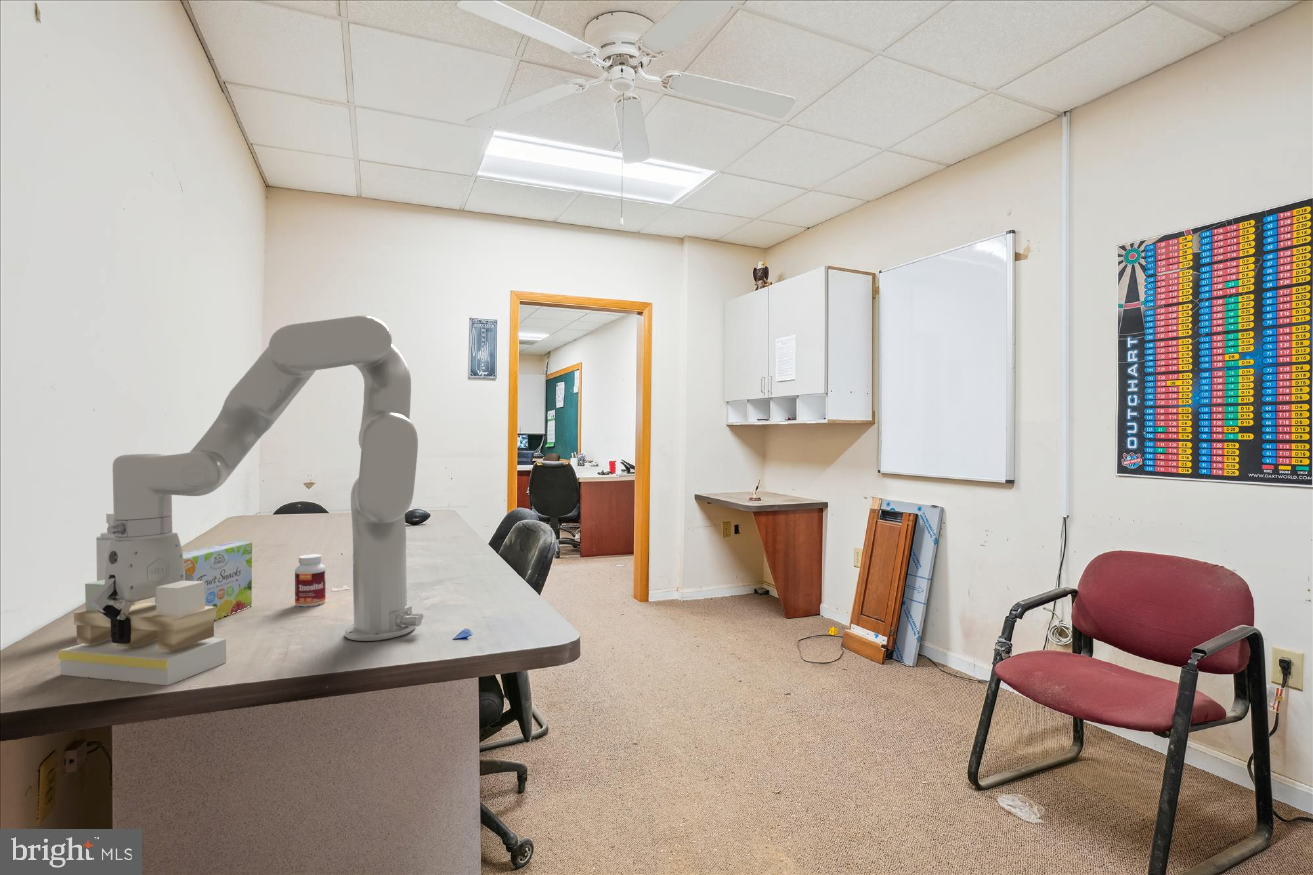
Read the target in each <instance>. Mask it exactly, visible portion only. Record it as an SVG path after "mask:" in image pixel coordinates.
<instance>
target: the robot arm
mask: <svg viewBox="0 0 1313 875" xmlns="http://www.w3.org/2000/svg"><path fill="white" fill-rule="evenodd" d="M392 338H393V337H392V334H391V331H390V329H389V328H388V326H387V325H386V323H384V322H383V321H382V320H380V319H378V318H376V317H374V316H370V315H354V316H347V317H345V316H344V317H337V318H331V319H325V320H324V319H322V320H317V321H316V320H315V321H308V322H300V323H293V324H287V325H284V326H282V327H280V328H278V329H276V330H275V331H274V332H273V334H272V335H271V337H270V339H269V343H268V346H266V348H265V350H264V351H263V352H262V353H261V354H260V355H259V357H258V358H257V360H256V361H255V362H254V363H253V364H252V366H251V367H250V368H249V369H248V371H246V373H245V374H244V375H243V376H242V377H241V379H240V380H238V382H237V383H236V384H235V385H234V386H233V388H232V389H231V390H230V391H229V393H228V395H227V396H226V398H225V400H224V402H223V405H222V406H221V410H220V411H219V414H218V416H217V417H216V419H215V420H214V421H213V423H212V424H211V426H210V427H209V428H208V430H207V431H206V432H205V433H204V434H203V436H202V437H201V438H200V440H198V442H197V443H196V444H195V445H194V447H193V448H192V449H191V450H190V452H184V453H176V454H168V455H165V454H161V453H136V454H135V453H134V454H122V455H119V456H117V457H115V459H114V460H113V463H112V494H113V496H112V497H113V498H112V500H113V503H112V504H113V512H114V521H113V524H114V525H113V526H108V525H107V528H106V532H108V534H114V540H111V541H110V545H109V549H108V553H107V560H106V568H105V584H104V585H103V586H102V587H101V588H100V589H99V590H98V591H97V592H96V593H95V594H94V595H93V596H92V597H91V598H90V599H89V603H90V604H91V605H92V606H93V607H95V608H96V609H98V611H99V612H100V613H102V614H103V615H105V616H106V618H107V619H111V638H112V642H113V643H118V644H128V643H130V642H131V622H130V618H126V617H127V615H128V612H129V610H130V608H131V606H132V604H133V602H136V601H140V600H141V601H144V600H148V599H153V598H155V597H156V587H158V586H162V585H167V584H171V583H175V582H179V581H193V580H194V577H193V576H192V575H190V574H189V573H187V572H185V569H184V560H183V553H184V552H183V549H182V544H181V541H180V537H179V533H177V532H173V505H172V504H173V502H172V501H173V500H172V499H173V498H172V496H184V497H185V496H186V497H200V496H205V495H208V494H211V493H213V492H215V491H216V490H217V489H219V488H220V487H221V486H223V484H225V482H226V481H227V480H228V479H229V477H230V476H231V475H232V473H233V472H234V471H235V470H236V469H237V468H238V466H239V464H240V463H241V462H242V461H243V460H244V458H245V457H246V456H247V455H248V453H249V452H250V451H251V450H252V448H253V447H254V446H255V445H256V443H257V442H258V441H259V440H260V439H261V438H262V437H263V435H264V434H265V433H266V432H268V431H269V430H270V429H271V428H272V427H273V425H274V424H275V423H276V421H277V420H278V419H279V418H280V416H281V415H282V414H283V413H284V411H285V410H286V409H287V408H288V406H289V405H290V403H292V401H293V400H294V398H295V397H296V396H297V395H298V393H300V391H301V390H302V388H304V386H305V385H306V384H307V383H308V381H309V380H310V379H311V377H312V376H313V375H314V374H315V373H316V371H319V370H328V369H334V368H339V367H340V368H341V367H346V366H351V365H352V366H354V367H356V368H357V370H358V371H359V372H360V374H361V375H362V377H363V378H362V379H363V384H364V388H363V406H362V416H361V423H360V428H359V431H358V445H359V448H360V460H359V461H360V463H359V473H358V477H357V479H356V480H355V481H354V483H353V485H352V487H351V491H350V512H351V524H352V525H351V527H352V531H351V532H352V580H353V581H352V583H353V584H352V588H353V590H352V592H353V594H352V595H353V623H352V624H350V625H349V626H347V627H346V628H345V630H344V636H345V638H347V639H349V640H352V641H358V642H373V641H375V642H376V641H381V640H382V641H384V640H389V639H393V638H394V639H395V638H398V637H401V636H405V635H407V634H409V633H411V632H413V631H414V629H416V627H420V626H421V625H422V622H423V619H424V614H423V613H421V612H420V613H417V612H416V613H413V605H408V599H407V598H408V595H407V594H408V590H407V589H408V588H407V586H408V585H407V584H408V583H407V579H408V578H407V531H406V529H407V528H406V526H407V525H406V516H405V514H406V513H407V512H408V511H409V509H410V507H411V505H412V502H413V498H414V490H415V482H416V475H417V474H416V473H417V472H416V471H417V461H418V460H417V459H418V450H419V449H418V448H419V438H418V433H417V429H416V427H415V426H414V424H413V423H412V421H411V420H410V419H411V418H410V415H411V398H412V379H411V373H410V369H409V366H408V364H407V362H406V360H405V359H404V357H403V355H402V353H400V351H399V350H398V348H396V346H394V344H392V343H393V339H392ZM107 599H108V600H110V601H112V603H111V605H110V604H109V603H108V602H107ZM121 604H122V605H121ZM120 606H121V607H120ZM119 608H120V609H119Z"/></svg>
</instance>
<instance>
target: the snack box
mask: <svg viewBox="0 0 1313 875" xmlns="http://www.w3.org/2000/svg"><path fill="white" fill-rule="evenodd" d="M182 553H183V560H184V569H185V572H187V573H189V574H190V575H192V576H193V577H194V580H193V581H203V582H205V606H210V607H216V619H214V620H216V621H219V620H220V619H219V618H222V617H224V616H227V615H229V614H232V613H233V612H237V611H238V610H242V609H244V608H247V607H248V606H251V605H253V603H252V601H253V598H252V595H253V590H252V589H253V588H252V587H253V584H252V583H253V578H252V577H253V541H228V542H225V543H221V544H216V545H211V546H208V547H202V548H199V549H195V550H194V549H193V550H190V551H185V552H182ZM154 603H156V597H154ZM247 609H248V608H247ZM242 611H243V610H242ZM237 613H238V612H237ZM232 615H233V614H232ZM229 616H230V615H229ZM227 617H228V616H227ZM224 618H225V617H224ZM218 619H219V620H218ZM222 619H223V618H222Z"/></svg>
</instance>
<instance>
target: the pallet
mask: <svg viewBox="0 0 1313 875" xmlns="http://www.w3.org/2000/svg"><path fill="white" fill-rule="evenodd" d="M126 618H130V622H131V642H130V643H128V644H118V643H117V646H121V647H134V646H137V645H140V644H143V643H146V642H149V641H152V640H156V639H158V649H159V650H172V651H173V650H176V649H179V648H182V647H185V646H188V645H191V644H194V643H196V642H199V641H202V640H205V639H208V638H215V627H214V626H215V623H214V622H215V621H214V619H216V607H210V606H205V609H202V610H199V611H196V612H192V613H189V614H185V615H182V616H164V615H157V610H156V603H155V602H154V603H153V602H141V603H139V602H135V605H132V606H131V608H130V610H129V612H128V615H127V617H126ZM73 625H74V626H76V643H77V644H93V643H96V642H100V641H103V640H106V639H110V638H111V619H107V618H106V616H105V615H103V614H102V613H100V612H99V611H86V609H84V610H79V611H74V612H73Z"/></svg>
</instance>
